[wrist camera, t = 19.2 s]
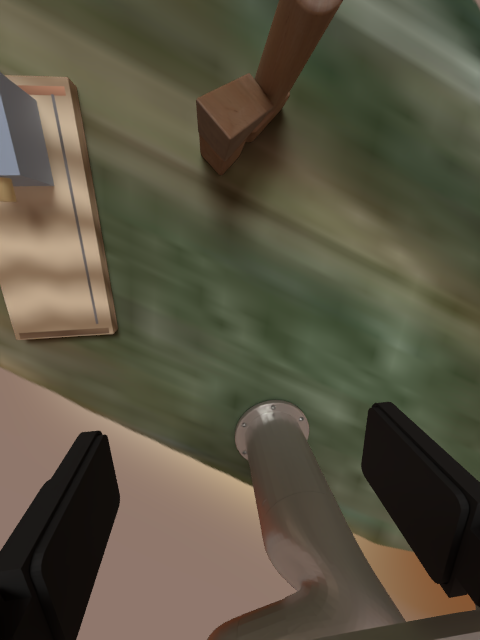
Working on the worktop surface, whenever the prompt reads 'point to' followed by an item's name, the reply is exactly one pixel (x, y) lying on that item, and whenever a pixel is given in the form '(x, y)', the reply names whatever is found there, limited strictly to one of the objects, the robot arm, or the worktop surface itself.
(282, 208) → the worktop surface
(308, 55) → the wooden block
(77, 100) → the maple board
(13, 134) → the grey block on dowel
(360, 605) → the robot arm
